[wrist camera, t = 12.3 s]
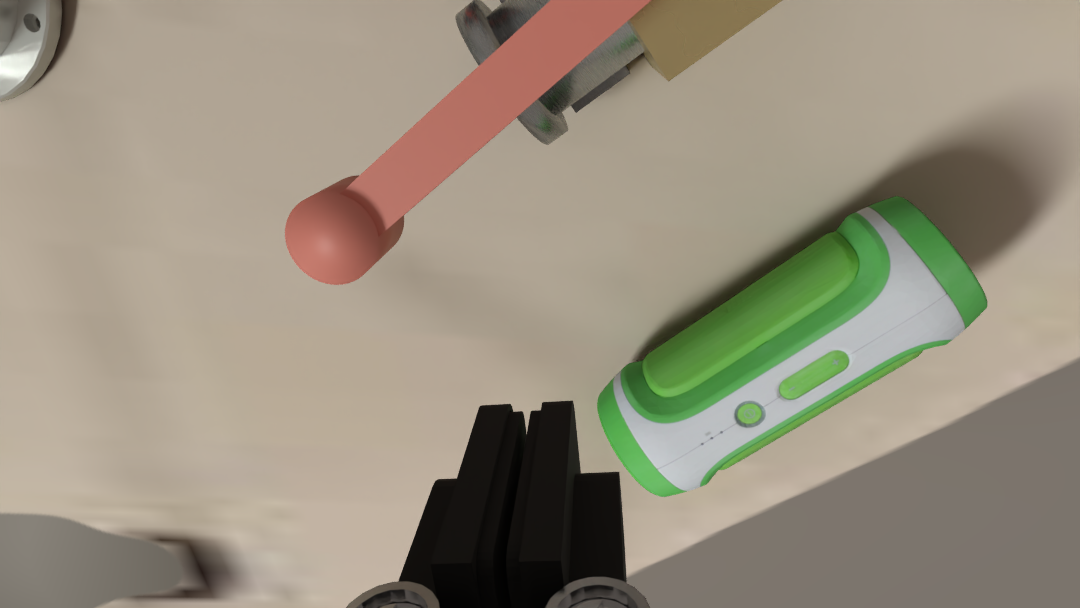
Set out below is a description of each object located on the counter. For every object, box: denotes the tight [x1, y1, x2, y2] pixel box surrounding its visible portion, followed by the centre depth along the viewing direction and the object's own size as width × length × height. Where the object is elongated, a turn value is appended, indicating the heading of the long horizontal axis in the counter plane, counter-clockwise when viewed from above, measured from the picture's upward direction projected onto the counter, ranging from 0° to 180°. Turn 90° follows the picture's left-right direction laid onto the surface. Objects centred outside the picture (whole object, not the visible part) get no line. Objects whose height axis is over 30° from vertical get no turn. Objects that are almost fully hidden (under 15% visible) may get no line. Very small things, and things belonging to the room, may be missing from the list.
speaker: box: [597, 196, 987, 497], centre depth 34 cm, size 18×7×8 cm, turn 130°
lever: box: [285, 0, 651, 285], centre depth 21 cm, size 4×18×4 cm, turn 130°
